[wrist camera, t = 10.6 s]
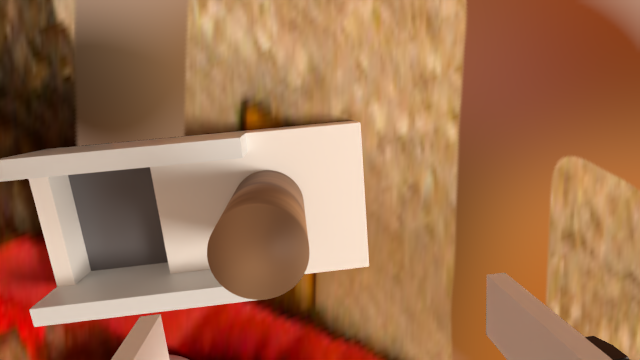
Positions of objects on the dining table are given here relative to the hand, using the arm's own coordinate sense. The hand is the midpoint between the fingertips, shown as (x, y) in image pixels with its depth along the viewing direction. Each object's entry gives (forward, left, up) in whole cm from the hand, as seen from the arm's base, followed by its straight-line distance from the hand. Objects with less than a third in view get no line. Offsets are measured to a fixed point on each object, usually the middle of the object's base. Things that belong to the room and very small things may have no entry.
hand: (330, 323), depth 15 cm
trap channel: (-9, 0, -21) cm, 22 cm away
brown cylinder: (-3, 0, -17) cm, 18 cm away
